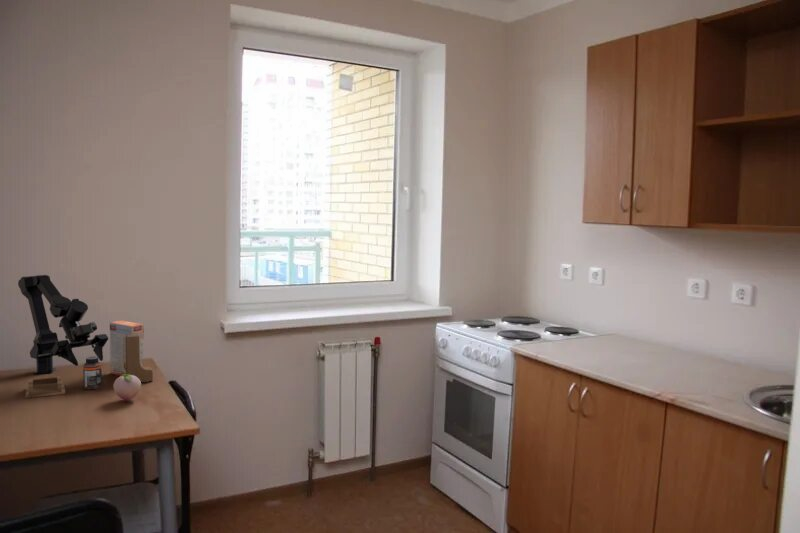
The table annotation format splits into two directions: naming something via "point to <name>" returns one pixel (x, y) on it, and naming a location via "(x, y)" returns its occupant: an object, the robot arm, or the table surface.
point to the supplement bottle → (92, 373)
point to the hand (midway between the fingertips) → (89, 362)
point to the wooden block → (136, 360)
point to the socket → (45, 387)
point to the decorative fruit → (127, 386)
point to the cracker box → (123, 344)
